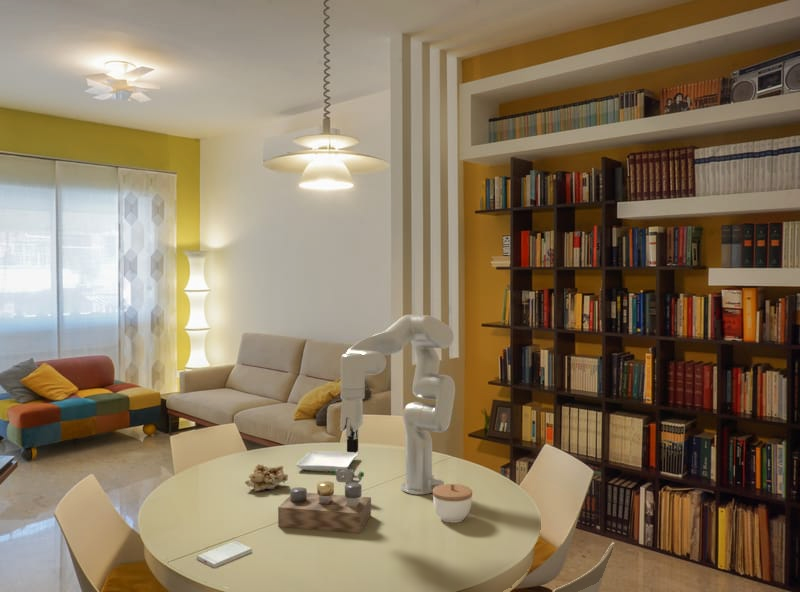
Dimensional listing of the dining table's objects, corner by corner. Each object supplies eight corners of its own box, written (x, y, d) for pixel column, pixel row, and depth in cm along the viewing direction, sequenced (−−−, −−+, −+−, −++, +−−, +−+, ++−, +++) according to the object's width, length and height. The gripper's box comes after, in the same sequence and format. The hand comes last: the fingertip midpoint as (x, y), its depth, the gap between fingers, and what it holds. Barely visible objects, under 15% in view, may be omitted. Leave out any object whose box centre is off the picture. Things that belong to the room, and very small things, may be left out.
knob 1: (309, 512, 203) (308, 487, 202) (303, 518, 198) (303, 493, 197) (293, 511, 204) (293, 486, 203) (287, 517, 199) (287, 492, 198)
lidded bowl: (445, 529, 193) (446, 493, 192) (425, 515, 204) (425, 481, 203) (480, 521, 198) (480, 487, 198) (458, 508, 210) (458, 475, 209)
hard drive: (234, 540, 182) (196, 554, 172) (252, 548, 177) (214, 563, 167) (234, 545, 182) (196, 560, 172) (252, 554, 177) (214, 569, 167)
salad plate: (310, 457, 269) (310, 449, 269) (358, 459, 266) (358, 451, 266) (295, 473, 248) (294, 464, 248) (347, 475, 245) (347, 466, 245)
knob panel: (370, 515, 203) (370, 497, 203) (359, 533, 190) (359, 513, 189) (294, 509, 208) (294, 491, 208) (278, 526, 195) (278, 507, 194)
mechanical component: (362, 501, 216) (362, 473, 215) (333, 499, 218) (333, 471, 217) (364, 498, 219) (364, 470, 218) (336, 496, 221) (336, 468, 220)
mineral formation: (256, 480, 238) (294, 479, 236) (243, 498, 225) (284, 497, 223) (253, 460, 236) (292, 459, 235) (240, 477, 223) (281, 476, 222)
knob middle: (335, 506, 201) (335, 481, 201) (331, 512, 196) (330, 487, 195) (320, 505, 202) (320, 480, 202) (315, 511, 197) (314, 486, 196)
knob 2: (363, 508, 199) (363, 483, 199) (359, 514, 194) (359, 489, 194) (347, 507, 200) (347, 482, 200) (342, 513, 195) (342, 488, 195)
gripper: (347, 388, 204) (347, 444, 204) (333, 397, 189) (333, 457, 190) (370, 389, 202) (370, 446, 203) (358, 398, 188) (357, 459, 188)
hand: (352, 451), depth 196 cm, fingers closed
